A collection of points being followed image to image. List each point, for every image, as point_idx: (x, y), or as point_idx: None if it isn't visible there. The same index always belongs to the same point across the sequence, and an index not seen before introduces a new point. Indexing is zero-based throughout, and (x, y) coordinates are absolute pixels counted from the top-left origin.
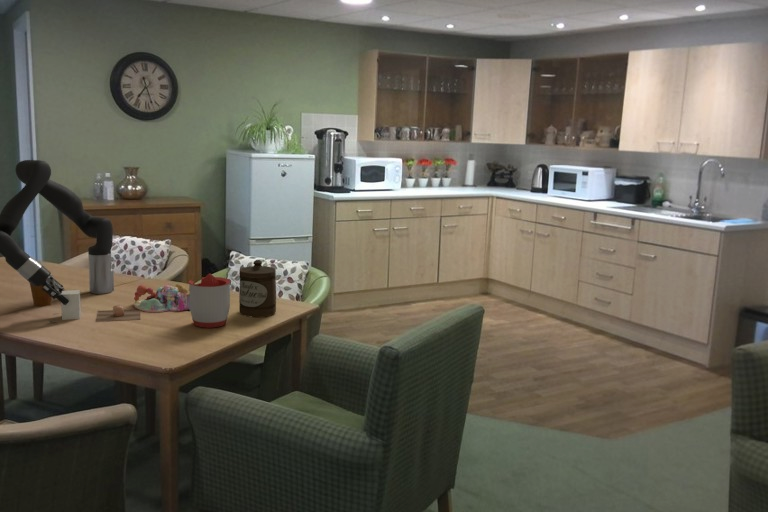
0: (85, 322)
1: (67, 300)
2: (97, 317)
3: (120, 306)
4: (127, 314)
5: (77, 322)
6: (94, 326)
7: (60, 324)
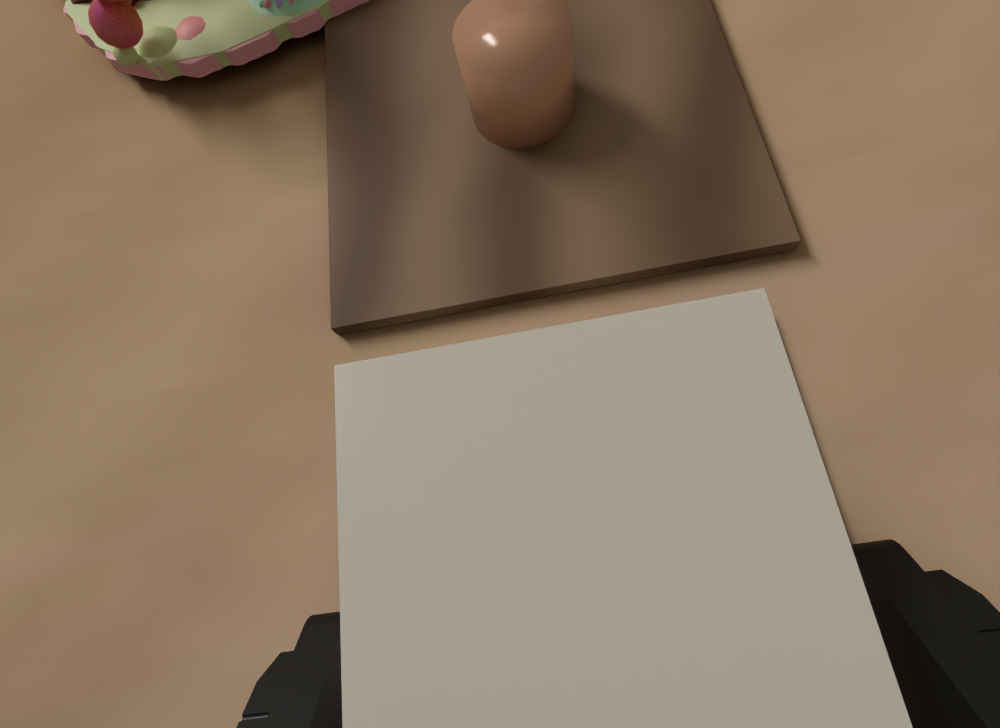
0: None
1: (914, 570)
2: (607, 266)
3: (506, 11)
4: None
5: None
6: (913, 233)
7: None
